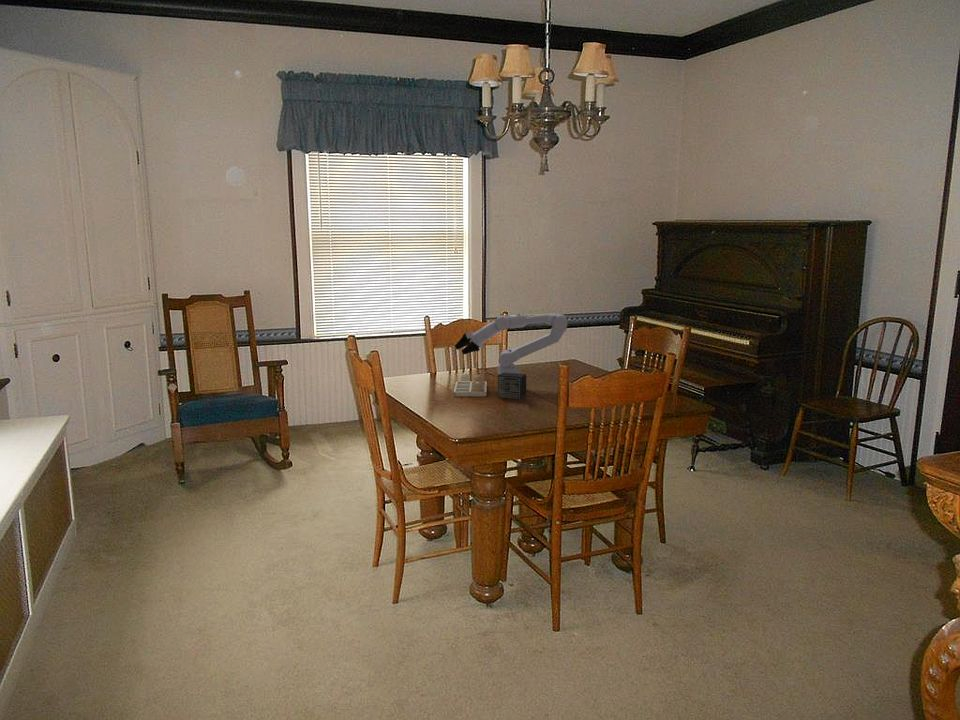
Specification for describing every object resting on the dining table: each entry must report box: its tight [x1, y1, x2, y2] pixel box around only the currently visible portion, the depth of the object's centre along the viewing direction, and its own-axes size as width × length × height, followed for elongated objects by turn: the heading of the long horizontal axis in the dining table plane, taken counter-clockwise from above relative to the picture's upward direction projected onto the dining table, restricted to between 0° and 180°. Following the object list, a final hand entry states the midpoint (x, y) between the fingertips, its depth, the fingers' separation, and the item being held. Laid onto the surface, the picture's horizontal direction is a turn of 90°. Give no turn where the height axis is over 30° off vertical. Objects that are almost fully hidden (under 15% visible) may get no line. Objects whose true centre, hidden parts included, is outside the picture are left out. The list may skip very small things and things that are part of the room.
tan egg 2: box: [473, 382, 483, 392], centre depth 300 cm, size 4×4×5 cm
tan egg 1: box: [473, 374, 484, 385], centre depth 312 cm, size 4×4×5 cm
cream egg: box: [459, 372, 471, 381], centre depth 322 cm, size 4×4×5 cm
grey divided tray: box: [453, 380, 488, 397], centre depth 306 cm, size 14×20×3 cm
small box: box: [497, 372, 527, 400], centre depth 295 cm, size 11×6×10 cm, turn 65°
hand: (459, 350), depth 318 cm, fingers open, 7 cm apart
